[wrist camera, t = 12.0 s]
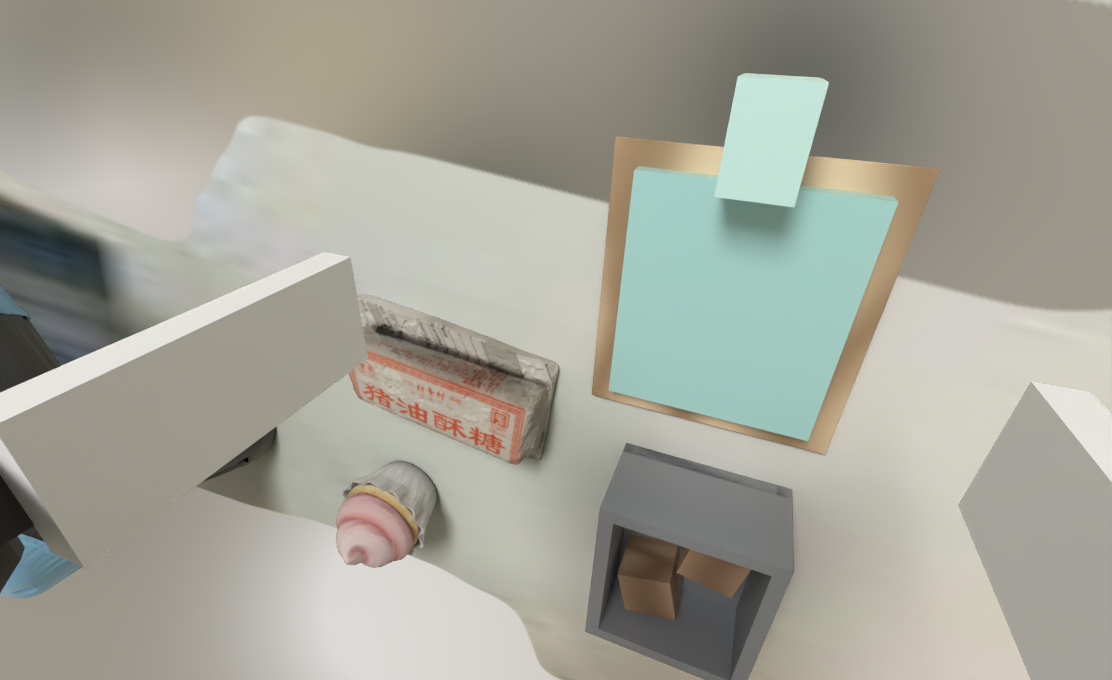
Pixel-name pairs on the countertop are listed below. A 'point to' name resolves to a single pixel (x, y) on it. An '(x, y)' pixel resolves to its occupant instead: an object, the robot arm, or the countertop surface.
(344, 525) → the cupcake
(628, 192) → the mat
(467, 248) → the countertop surface
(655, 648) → the tub
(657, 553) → the block
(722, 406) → the lid
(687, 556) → the block
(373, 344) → the packaged product
